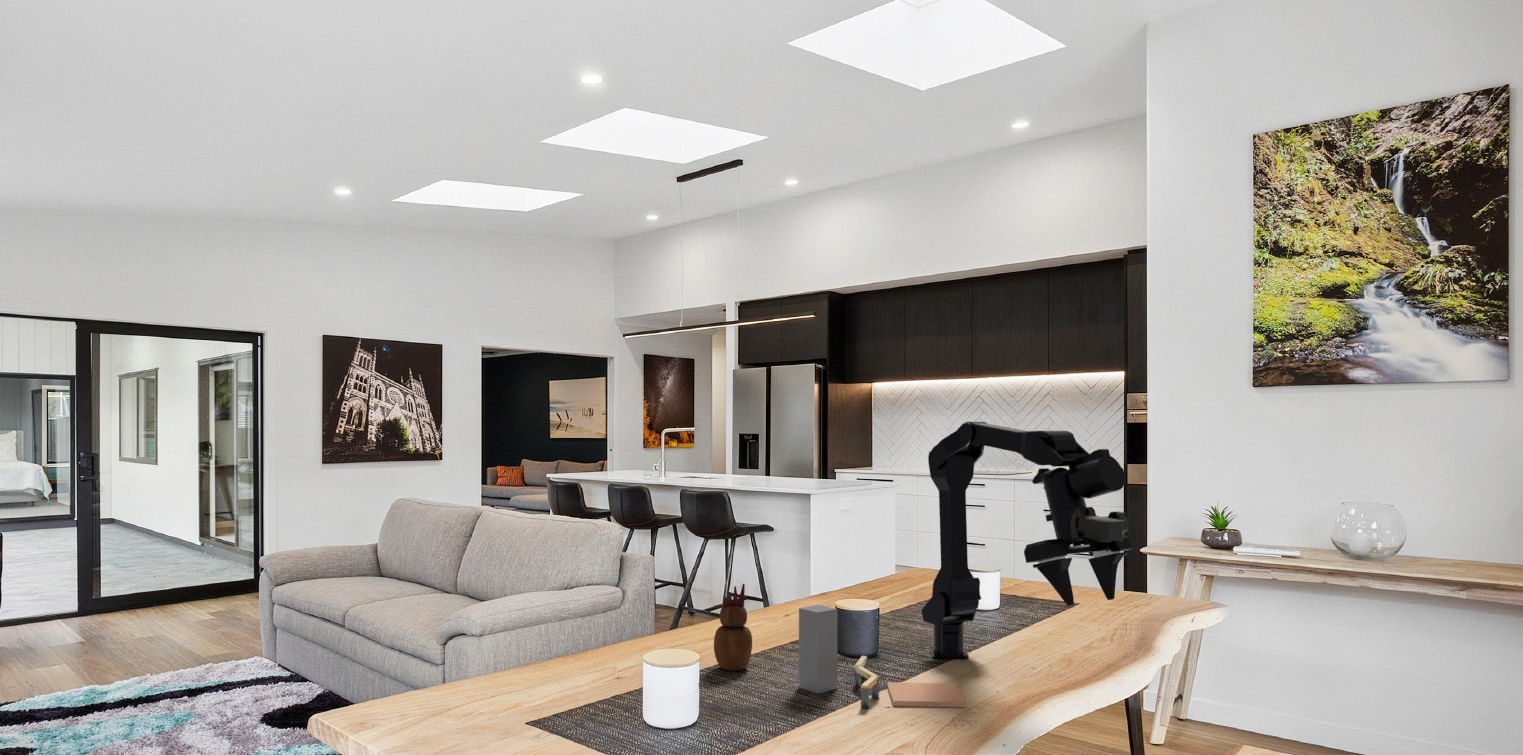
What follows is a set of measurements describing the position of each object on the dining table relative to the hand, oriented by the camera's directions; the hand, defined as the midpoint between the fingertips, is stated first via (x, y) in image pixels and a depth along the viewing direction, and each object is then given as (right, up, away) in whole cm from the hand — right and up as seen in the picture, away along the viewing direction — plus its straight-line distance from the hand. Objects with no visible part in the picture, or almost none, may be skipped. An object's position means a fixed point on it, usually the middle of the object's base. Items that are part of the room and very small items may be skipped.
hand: (1091, 602), depth 141 cm
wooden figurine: (-57, -17, +18) cm, 62 cm away
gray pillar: (-43, -16, +7) cm, 46 cm away
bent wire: (-35, -16, +5) cm, 39 cm away
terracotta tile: (-26, -16, +2) cm, 30 cm away
